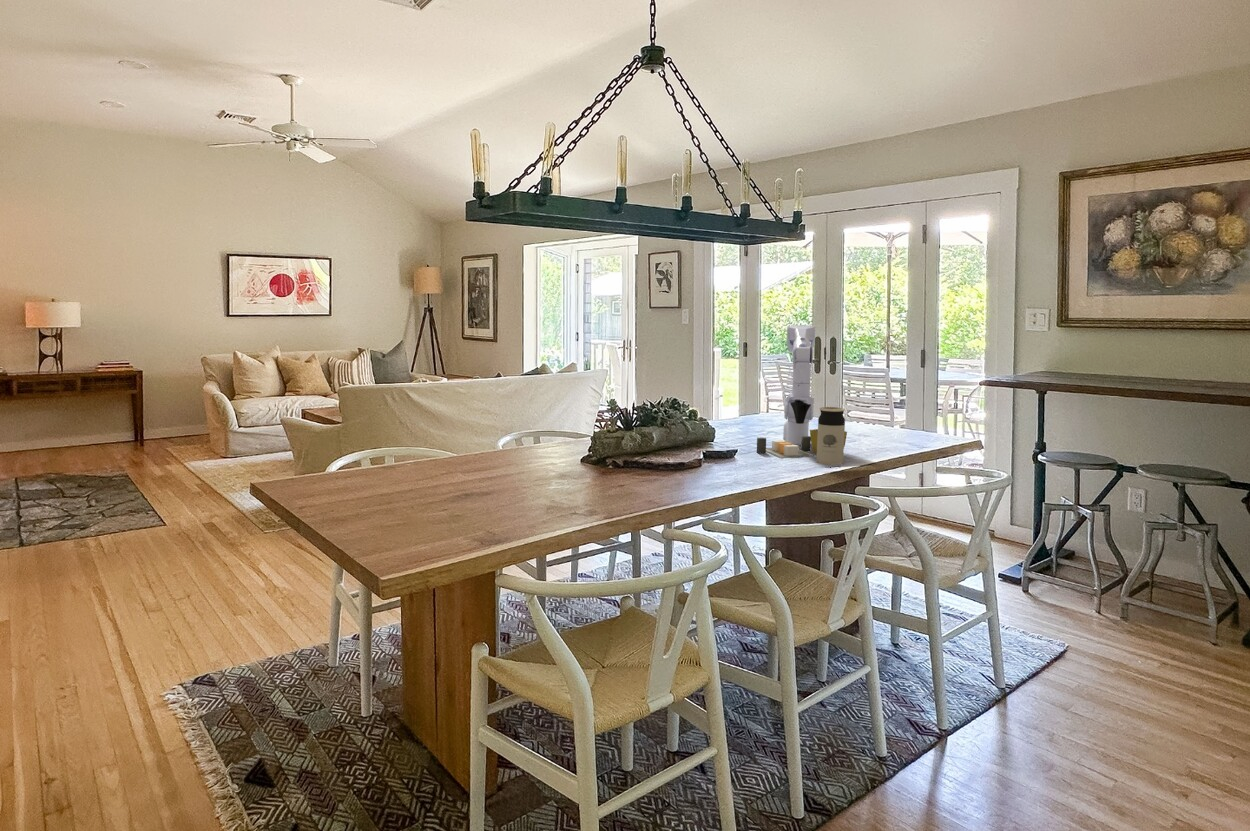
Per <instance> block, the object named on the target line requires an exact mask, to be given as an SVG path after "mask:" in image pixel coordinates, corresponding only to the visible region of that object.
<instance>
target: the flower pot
mask: <svg viewBox="0 0 1250 831" xmlns="http://www.w3.org/2000/svg"><path fill="white" fill-rule="evenodd" d="M847 434H848V431H846V430H845V431H844V448H845V446H846V441H847ZM809 435H810V438H811V445H810V446H811V448H812V450H813V453H814V454H816V455H817V439H818V428H815V429H809Z"/></svg>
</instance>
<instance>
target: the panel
mask: <svg viewBox="0 0 1250 831" xmlns="http://www.w3.org/2000/svg"><path fill="white" fill-rule="evenodd" d="M766 453H767V454H769V455H771V456H774V457H775V458H779V459H793V458H798V459H799V458H814V457H815V454H811V453H810V452H805V451H802V450H801V449H799V453H798V455H793V456H786V455H784V453H779V452H778V451H775V450H772V447H766Z"/></svg>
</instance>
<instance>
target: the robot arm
mask: <svg viewBox="0 0 1250 831" xmlns="http://www.w3.org/2000/svg"><path fill="white" fill-rule="evenodd" d="M786 327H787V328H786V347H787V350H788V351H789V352H791V353H792V354H791V355H792V357H791V361H792V387H791V388H792V390H791V392H792V393H788V396H786V397H785V399H784V400H785V402H784V419H785V420H786V421H785V423H784V425H783V435H782V436H783V438H782V440H784V441H786V443H788V442H789V443H792V445H797V446H799V445H800V446H801V440H802V436H809V431H810V429H809V427H810V426H809V425H810V421H812V420H813V419H814V404H815V403H814V402H815V399H814V398H813V397H812V396H811V375H812V374H811V373H812V371H811V370H812V364H813V360H814V357H813V356H814V346H815V340H816V326H815V325H814V324H811V325H809V324H808V325H807V324H806V325H805V324H804V325H803V324H802V325H801V324H800V325H799V324H788V325H787V326H786Z"/></svg>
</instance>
